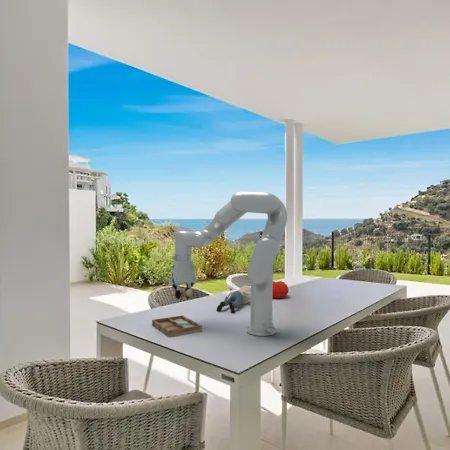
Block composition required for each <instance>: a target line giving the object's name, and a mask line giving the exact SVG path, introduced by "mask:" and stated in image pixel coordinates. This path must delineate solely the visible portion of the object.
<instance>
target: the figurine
mask: <svg viewBox="0 0 450 450" xmlns="http://www.w3.org/2000/svg"><path fill="white" fill-rule="evenodd" d="M193 295H194V291H193V289H192V288H191V289H188V290H187V291H186V292H185V291H180V300H181V301H182V300H183V298H184V297H185V296H186V297H185V298H186V299H187V300H188V299H189V298H190V297H192V296H193ZM170 297H175V293H173V294H170ZM188 297H189V298H188Z"/></svg>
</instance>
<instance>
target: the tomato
mask: <svg viewBox="0 0 450 450" xmlns="http://www.w3.org/2000/svg"><path fill="white" fill-rule="evenodd" d="M288 294H289V287H288V285H287V283H285V282H284V281H283V280H279V281H274V280H273V296H272V299H282V298H285V297H286V296H287V295H288Z"/></svg>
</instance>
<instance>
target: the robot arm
mask: <svg viewBox="0 0 450 450" xmlns="http://www.w3.org/2000/svg"><path fill="white" fill-rule="evenodd" d="M247 213H250V214H251V213H254V214H267V219H266V222H265V225H264V229H263V231H262V235H261V237H260V238H259V239H258V240H257V241H256V243H255V246H254V248H253V250H252V254H251V257H250V260H249V264H248V266H247V271H246V273H247V278H248V280H249V282H250V288H251V296H250V301H249V302H250V326H249V327H247V328H246V332H247V334H249V335H252V336H258V337H266V336H267V337H268V336H273V335H275V334H276V333H277V329H278V328H276V327H274V326H275V325H274V324H275V323H274V322H273V297H272V296H273V281H274V265H275V262H276V259H277V255H278V253H279V251H280V248H281V243H282V239H283V237H284V233H285V230H286V227H287V223H288V212H287V207H286V206H285V204H284V202H283V201H282V200H281V199H280V198H279V197H278V196H276V195H275V194H273V193H271V192H253V191H237V192H235V193H234V194H233V195H232V196H231V198H230V201H228V202H227V203H226V204H225V205H224V206H222V207H221V208H220V209H219V210H217V212H216V213H215V215H214V216H213V219H212V220H211V222H209V223H208V224H207V225H206V226H204V227H203V228H202V229H201V230H195V231H188V230H177V231H176V232H175V233H174V234H175V235H174V255H172V256H171V259H173V262H172V267H171V276H170V277H171V278H170V279H169V280H168V283H167V284H168V285H169V286H171V287H172V288H173V289H174V294H175V296H174V297H175V299H177V300H181V297H180V292H181V290H180V287H181V285H182V284H183V285H185V287H186V288H185V289H184V290H185V291H184V292H186V291H187V290H188V289H191V290H192V287H194V285H195V284H196V283H197V282H198V280H197V279H196V271H195V264H194V260H192V248H195V249H200V248H204V247H207V246H209V245H210V244H212V242H214V241H215V240H216V239H217V238H219V237H220V236H221V235H222V234H223V233H225V231H227V230H228V229H229V227H231V226H232V225H233V224H234V223H235V222H237V221H238V220H240V218H242V217H243V216H244V215H246V214H247ZM184 297H185V298H186V296H184ZM188 299H190V296H189V297H188Z"/></svg>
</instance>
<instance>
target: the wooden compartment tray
mask: <svg viewBox="0 0 450 450" xmlns="http://www.w3.org/2000/svg"><path fill="white" fill-rule="evenodd" d="M151 325H152V327H154V328H155V329H156V330H158V331H159V332H161V333H163V335H165V336H166V337H168V338H172V337H179V336H183V335H189V334H194V333H201V332H202V331H203V325H201V324H199V323H198V322H196V321H193V320H192V319H190V318H188V317H186V316H184V315H179V316H177V315H176V316H169V317H163V318H162V317H161V318H156V319H152V320H151Z"/></svg>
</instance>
